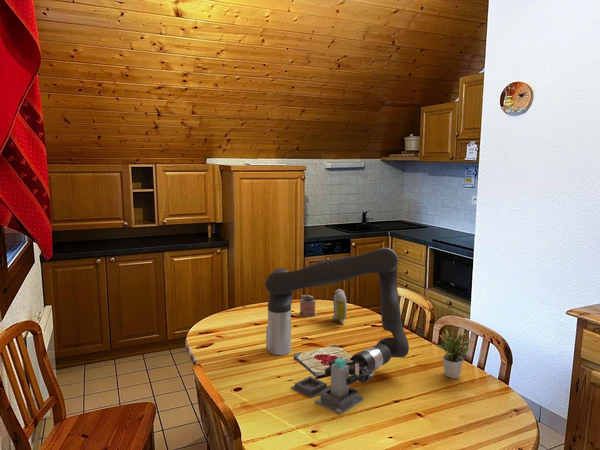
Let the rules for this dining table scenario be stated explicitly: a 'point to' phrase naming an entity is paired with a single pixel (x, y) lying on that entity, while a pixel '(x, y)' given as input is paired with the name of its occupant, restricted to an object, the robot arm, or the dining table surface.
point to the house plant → (453, 354)
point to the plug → (339, 378)
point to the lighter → (307, 306)
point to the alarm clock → (339, 306)
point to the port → (339, 400)
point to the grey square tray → (310, 387)
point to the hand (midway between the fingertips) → (336, 377)
